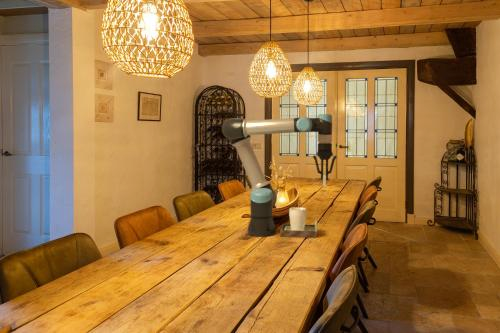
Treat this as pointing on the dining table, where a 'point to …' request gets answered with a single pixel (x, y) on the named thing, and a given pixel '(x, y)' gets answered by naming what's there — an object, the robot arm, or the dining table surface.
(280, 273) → the dining table surface
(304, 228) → the tray
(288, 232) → the dock
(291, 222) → the cup
